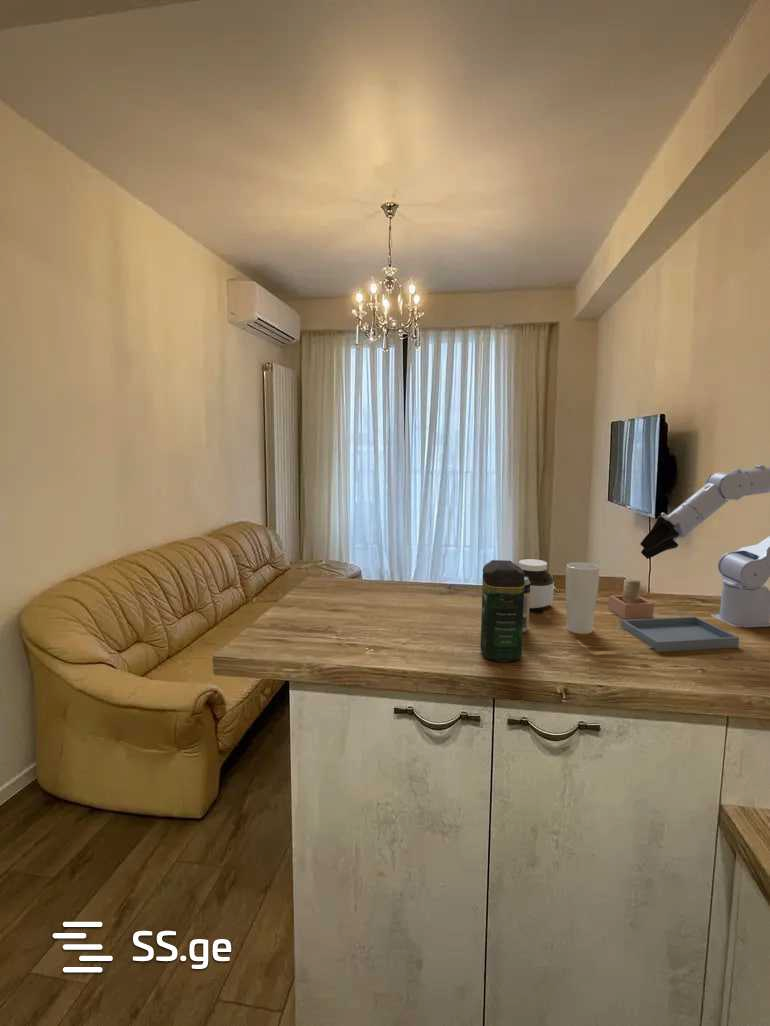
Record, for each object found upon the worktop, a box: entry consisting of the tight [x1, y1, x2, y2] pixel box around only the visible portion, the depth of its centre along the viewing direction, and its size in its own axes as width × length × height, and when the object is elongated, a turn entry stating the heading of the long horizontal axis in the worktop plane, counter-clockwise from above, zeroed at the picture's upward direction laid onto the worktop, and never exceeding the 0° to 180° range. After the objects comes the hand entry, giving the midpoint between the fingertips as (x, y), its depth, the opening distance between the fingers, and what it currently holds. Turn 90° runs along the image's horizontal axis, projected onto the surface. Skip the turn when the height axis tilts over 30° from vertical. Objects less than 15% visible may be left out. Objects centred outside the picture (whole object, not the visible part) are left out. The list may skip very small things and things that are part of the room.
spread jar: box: [518, 558, 555, 613], centre depth 136 cm, size 12×11×12 cm
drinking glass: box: [565, 561, 600, 635], centre depth 120 cm, size 7×7×15 cm
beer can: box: [522, 576, 530, 634], centre depth 121 cm, size 5×5×12 cm
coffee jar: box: [480, 559, 525, 663], centre depth 108 cm, size 10×8×19 cm
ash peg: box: [622, 578, 641, 604], centre depth 131 cm, size 4×4×8 cm
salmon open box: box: [607, 594, 655, 620], centre depth 131 cm, size 7×7×4 cm
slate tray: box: [620, 615, 740, 653], centre depth 117 cm, size 18×13×2 cm
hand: (643, 551), depth 125 cm, fingers open, 7 cm apart
